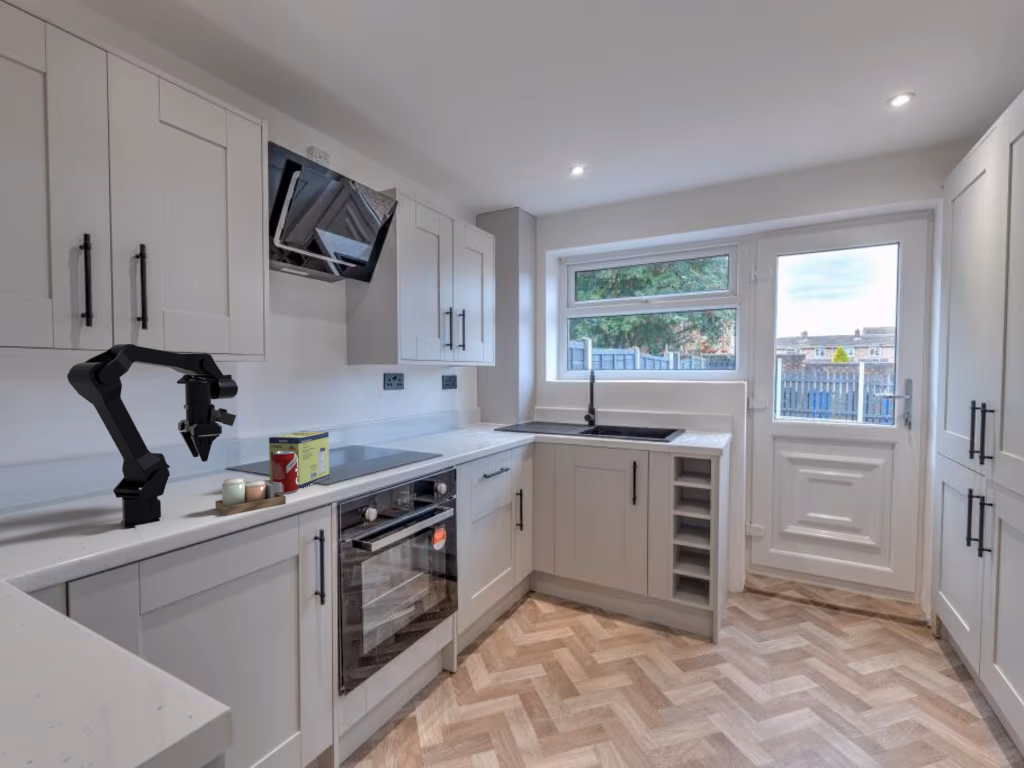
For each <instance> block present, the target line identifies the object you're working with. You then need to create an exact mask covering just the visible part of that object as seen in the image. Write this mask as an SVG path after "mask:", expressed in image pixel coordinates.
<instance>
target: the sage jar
mask: <svg viewBox="0 0 1024 768" xmlns="http://www.w3.org/2000/svg"><path fill="white" fill-rule="evenodd" d="M245 483H246V481H244V478H242V477H237V478H227V479H224V480H223V481H222V484H221V494H222V495H221V496H222V497H221V498H222V499H221V500H222V503H223V506H233V505H239V504H244V503H245Z"/></svg>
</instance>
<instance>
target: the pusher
mask: <svg viewBox="0 0 1024 768" xmlns="http://www.w3.org/2000/svg"><path fill="white" fill-rule="evenodd" d="M264 481H265V484H266V499H270V498H275V496H274V485H273V484H270V482H268V481H266V480H264Z"/></svg>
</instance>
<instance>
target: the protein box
mask: <svg viewBox="0 0 1024 768" xmlns="http://www.w3.org/2000/svg"><path fill="white" fill-rule="evenodd" d="M329 433H330V432H329V431H314V430H313V431H311V430H310V431H309V430H308V431H307V430H300V431H295V432H291V433H286V434H281V435H276V436H271V437H270V436H269V437H268V449H269V450H268V451H269V453H268V454H269V457H268V458H269V459H268V460H269V483H270V484H273V480H272V458H273V457H274V455H275V454H274V452H277V451H283V450H294V451H295V454H296V455H297V456H298V486H299V489H301V488H303V489H305V488H307V487H306V486H308V485H310V484H311V483H312V482H314V481H316V480H318V479H321V478H324V477H326V476H329V477H330V450H329V449H330V444H329V443H330V441H329V439H330V438H329ZM304 487H305V488H304ZM308 487H309V486H308ZM299 489H298V490H299Z"/></svg>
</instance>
